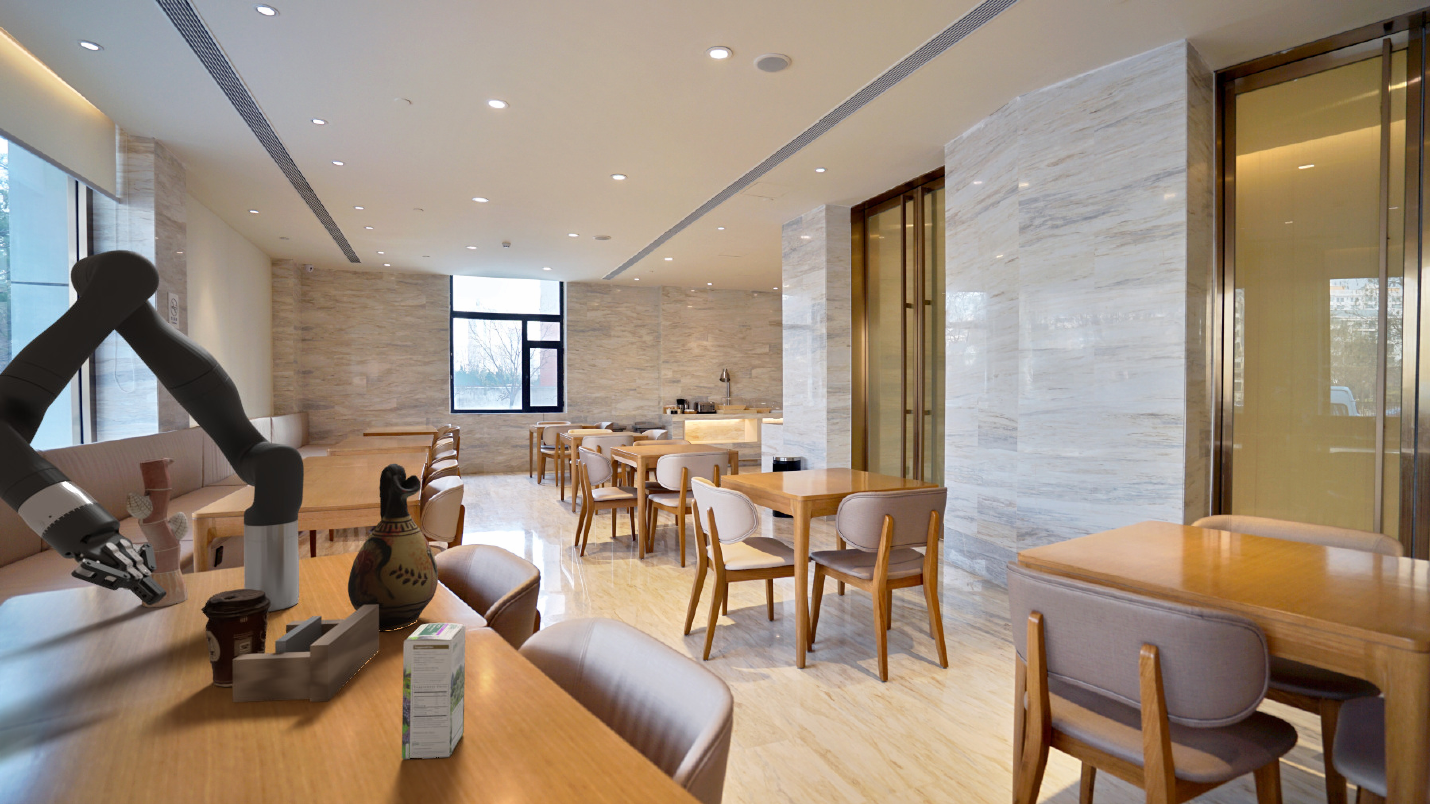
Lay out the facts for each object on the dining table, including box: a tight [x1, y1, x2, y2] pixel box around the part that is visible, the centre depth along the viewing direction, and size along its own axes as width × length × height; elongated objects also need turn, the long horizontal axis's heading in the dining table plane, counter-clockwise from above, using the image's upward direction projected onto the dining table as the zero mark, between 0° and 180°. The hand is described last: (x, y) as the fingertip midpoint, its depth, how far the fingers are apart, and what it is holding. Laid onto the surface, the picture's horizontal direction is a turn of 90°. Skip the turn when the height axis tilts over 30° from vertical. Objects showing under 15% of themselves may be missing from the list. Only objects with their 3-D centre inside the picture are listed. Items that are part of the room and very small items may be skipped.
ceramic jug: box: [347, 463, 439, 630], centre depth 126 cm, size 17×15×30 cm
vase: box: [125, 457, 189, 608], centre depth 136 cm, size 11×7×30 cm
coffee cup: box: [200, 588, 271, 688], centre depth 101 cm, size 9×8×13 cm
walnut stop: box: [232, 604, 380, 703], centre depth 102 cm, size 13×18×8 cm
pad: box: [274, 615, 323, 653], centre depth 102 cm, size 1×11×7 cm, turn 6°
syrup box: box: [401, 622, 466, 760], centre depth 82 cm, size 6×6×14 cm
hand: (158, 599), depth 99 cm, fingers closed
